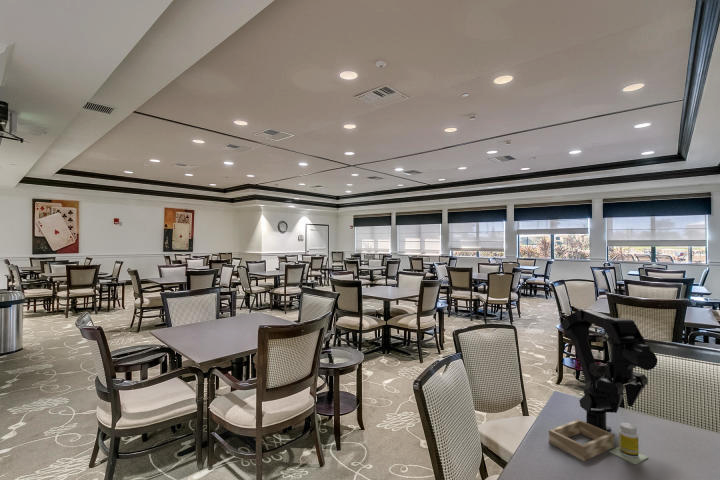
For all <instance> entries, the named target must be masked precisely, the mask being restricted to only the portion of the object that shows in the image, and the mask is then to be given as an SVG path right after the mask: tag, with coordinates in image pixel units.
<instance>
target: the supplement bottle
mask: <svg viewBox="0 0 720 480" xmlns="http://www.w3.org/2000/svg"><path fill="white" fill-rule="evenodd" d="M619 428H620V429H619V430H618V447H619V452H620V453H621V454H623V455H625V456H627V457H631V458H637V457H638V456H639V453H640V452H639V435H638V433H637V432H638V431H637V426H636V425H634V424H632V423H630V422H629V423H627V422H621V423H620V424H619Z"/></svg>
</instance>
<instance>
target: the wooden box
mask: <svg viewBox="0 0 720 480" xmlns="http://www.w3.org/2000/svg"><path fill="white" fill-rule="evenodd" d="M579 434H580V435H583V436H585V437H587V438H590V439H592V440H590V441H587V442H586V443H584V444H582V443H581V442H578V441H576V440H574V439H572V437H574V436H576V435H579ZM548 443H549V444H550V445H552V446H554V447H556V448H559V449H561V450H562V451H564V452H566V453H568V454H569V455H572V456H574V457H575V458H577V459H579V460H582V462H583V461H584V462H585V461H588V460H590V459H591V458H593V457H597V456H598V455H600V454H602V453H604V452H606V451H608V450H609V451H610V449H611V450H612V449H614V448H615V434H614V433H612V432H609V431H605V430H603V429H600V428H598V427H595V426H593V425H591V424H588V423H586V421H584V420H581V419H575V420H573V421H570V422H567V423H564V424H562V425H559V426H557V427H554V428H552V429H549V430H548Z"/></svg>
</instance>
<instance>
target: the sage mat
mask: <svg viewBox="0 0 720 480" xmlns="http://www.w3.org/2000/svg"><path fill="white" fill-rule="evenodd" d="M609 453H610V454H612V455H614V456H616V457H619V458H621V459H623V460H625V461H627V462H629V463H631V464H634V465H639V464H641V463H642V462H644V461H646V460H648V458H649V456H646V455H645V454H642V453H640V452H638V453H639V456H638V457H637V458H631V457H627V456H625V455H623V454H621V453H620V452H619V446H618V447H614V448H612V449H611V450H609Z"/></svg>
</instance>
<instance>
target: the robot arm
mask: <svg viewBox="0 0 720 480" xmlns="http://www.w3.org/2000/svg"><path fill="white" fill-rule="evenodd" d="M593 325H594V326H596V327H598V328H601V329H602V330H603V332H604V333H605V334H606V335H608V336H609V337H607V338H606V342H609V343H610V360H607V361H606V363H598V362H596V360H595V357H594V355H593V352H592V349H591V346H590V344H589V343H590V342H589V336H590V333H591V330H590V328H591V327H592V326H593ZM561 329H562V330H563V332H564V335H565V337H567V339H569V340H570V342H572V344H573V347H574V350H575V353H576V356H577V359H578V362H579V365H580V368H581V371H582V374H583V377H584V380H585V384H584V388H583V394H584V395H583V396H582V397H581V398H580V399H579V401H578V402H579V405H580V407H581V408H582V409H583V410H584V411H586V414H585V415H586V416H585V417H586V420H585V422H586V423H588V424H591V425H593V426H595V427H598V428H600V429H603V430H605V431H607V432H609V431H610V430H611V431H612V427H610V426H608V425H607V413H611V414H613V413H615V414H617V412H618V411H619V409H620V406H621V403H622V401H623V397H624V395H626V403H627V406H628V407H629V408H632V407H634V405H635V403H636V401H637V399H638V398H639V397H640V395H641V393H642V392H643V390H644V389H645V388H646V385H648V384H649V383H648V377H647V376H646V375H645V374H643V373H639V372H636V371H634V369H636V368H640V369H642V370H643V371H644V370H645V371H650V370H653V369H654V368H656V366H657V364H658V357H657V355H656V353H654V351H651V347H650V345H647V344H646V341H645V338H644V336H643V335H642V334H641V331H640V330H639V327H638V325H637V324H636V322H635V321H634V320H633V319H630V318H621V317H620V318H618V317H612V316H608V315H607V314H603V313H601V312H599V311H596V310H593V309H591V308H578V309H576V310H575V311H574V312H573V313H571V314H569V315H567V316H566V317H565V318H564V319H563V321H562V322H561ZM602 376H605V377H602ZM601 377H602V378H601ZM624 390H625V393H624Z"/></svg>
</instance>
